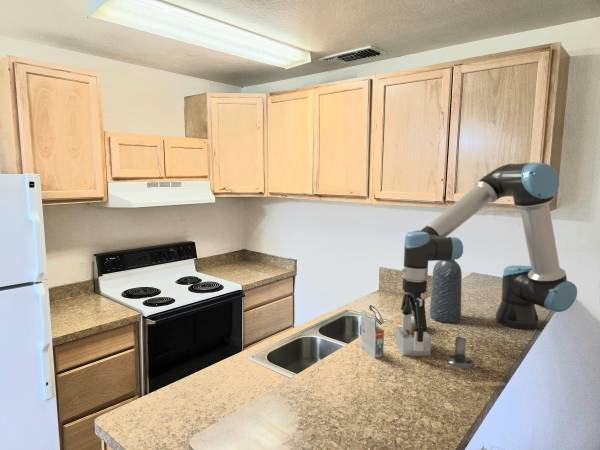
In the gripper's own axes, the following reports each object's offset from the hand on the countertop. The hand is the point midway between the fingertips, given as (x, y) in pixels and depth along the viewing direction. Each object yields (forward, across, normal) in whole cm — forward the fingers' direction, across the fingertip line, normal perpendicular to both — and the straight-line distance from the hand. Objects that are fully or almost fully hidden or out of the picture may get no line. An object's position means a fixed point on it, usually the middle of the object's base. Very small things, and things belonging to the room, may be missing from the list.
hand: (411, 341), depth 127 cm
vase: (+4, -31, +23) cm, 39 cm away
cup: (+4, -17, +5) cm, 18 cm away
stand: (+4, 0, 0) cm, 4 cm away
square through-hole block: (+3, 0, 0) cm, 3 cm away
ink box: (+4, +2, -14) cm, 14 cm away
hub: (+4, +9, +12) cm, 16 cm away
